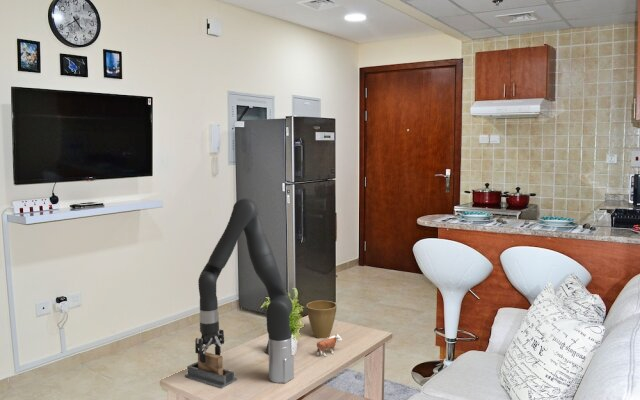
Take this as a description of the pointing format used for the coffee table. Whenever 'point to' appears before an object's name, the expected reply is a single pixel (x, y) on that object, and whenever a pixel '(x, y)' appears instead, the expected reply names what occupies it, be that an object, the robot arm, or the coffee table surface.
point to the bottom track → (210, 376)
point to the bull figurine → (328, 344)
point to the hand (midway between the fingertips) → (210, 359)
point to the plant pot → (321, 317)
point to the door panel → (212, 363)
